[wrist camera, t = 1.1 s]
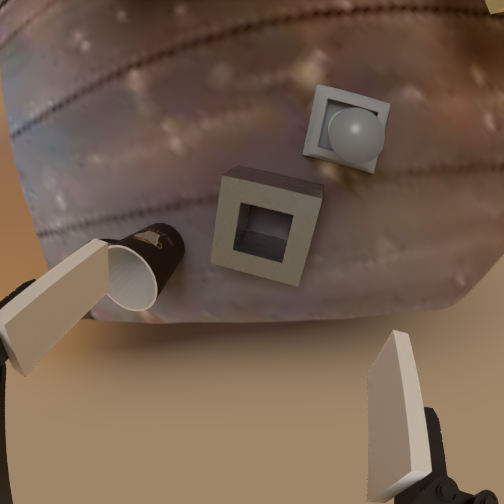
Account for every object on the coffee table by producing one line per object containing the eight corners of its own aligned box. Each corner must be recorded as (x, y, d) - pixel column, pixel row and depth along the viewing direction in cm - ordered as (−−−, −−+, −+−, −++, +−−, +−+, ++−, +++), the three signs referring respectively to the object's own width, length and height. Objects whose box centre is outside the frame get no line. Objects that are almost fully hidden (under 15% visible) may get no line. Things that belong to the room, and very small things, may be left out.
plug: (332, 105, 30) (335, 101, 19) (368, 115, 29) (390, 117, 19) (324, 141, 32) (323, 155, 21) (360, 151, 31) (377, 170, 21)
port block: (238, 165, 36) (222, 175, 31) (323, 185, 35) (322, 198, 30) (226, 241, 41) (210, 263, 35) (302, 262, 39) (298, 286, 34)
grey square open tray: (317, 84, 30) (316, 82, 28) (388, 104, 29) (394, 103, 27) (303, 153, 34) (300, 156, 31) (372, 172, 33) (376, 177, 30)
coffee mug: (204, 248, 42) (171, 286, 33) (169, 283, 46) (135, 322, 37) (143, 186, 40) (97, 210, 31) (114, 227, 44) (71, 256, 35)
